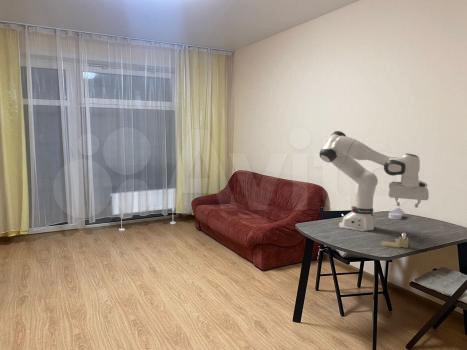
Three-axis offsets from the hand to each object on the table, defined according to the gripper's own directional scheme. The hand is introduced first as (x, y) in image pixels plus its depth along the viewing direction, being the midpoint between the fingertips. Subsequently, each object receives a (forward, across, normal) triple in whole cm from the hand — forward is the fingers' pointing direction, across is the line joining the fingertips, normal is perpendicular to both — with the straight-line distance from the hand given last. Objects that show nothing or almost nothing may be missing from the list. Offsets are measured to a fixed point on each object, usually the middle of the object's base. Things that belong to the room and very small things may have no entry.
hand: (407, 206), depth 197 cm
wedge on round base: (+23, +4, +70) cm, 74 cm away
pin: (+23, -1, -3) cm, 23 cm away
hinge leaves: (+23, -5, +1) cm, 23 cm away
